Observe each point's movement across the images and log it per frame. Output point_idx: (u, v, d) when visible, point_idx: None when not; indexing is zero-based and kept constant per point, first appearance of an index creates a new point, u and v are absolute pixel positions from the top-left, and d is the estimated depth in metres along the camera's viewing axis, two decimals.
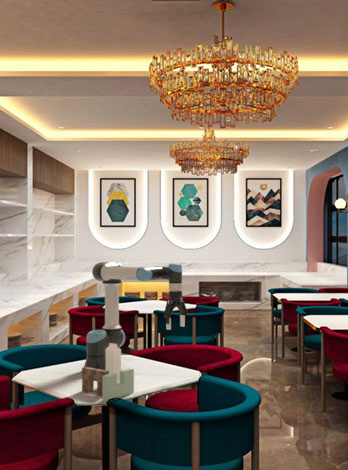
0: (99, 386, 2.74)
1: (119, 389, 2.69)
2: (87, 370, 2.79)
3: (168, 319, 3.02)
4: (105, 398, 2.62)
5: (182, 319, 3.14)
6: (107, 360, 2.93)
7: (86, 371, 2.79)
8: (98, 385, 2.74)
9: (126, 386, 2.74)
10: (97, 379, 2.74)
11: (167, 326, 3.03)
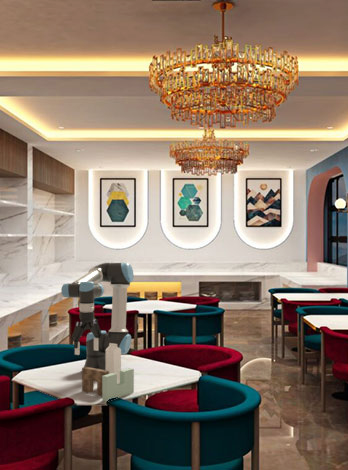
0: (99, 386, 2.74)
1: (119, 389, 2.69)
2: (87, 370, 2.79)
3: (76, 343, 2.74)
4: (105, 398, 2.62)
5: (95, 342, 2.86)
6: (107, 360, 2.93)
7: (86, 371, 2.79)
8: (98, 385, 2.74)
9: (126, 386, 2.74)
10: (97, 379, 2.74)
11: (76, 351, 2.75)
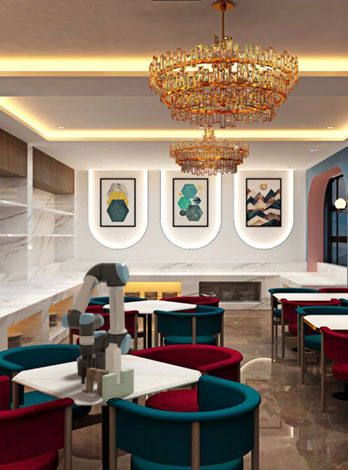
0: (99, 386, 2.74)
1: (119, 389, 2.69)
2: (87, 370, 2.79)
3: (83, 379, 2.78)
4: (105, 398, 2.62)
5: None
6: (107, 360, 2.93)
7: (86, 371, 2.79)
8: (98, 385, 2.74)
9: (126, 386, 2.74)
10: (97, 379, 2.74)
11: (83, 386, 2.79)
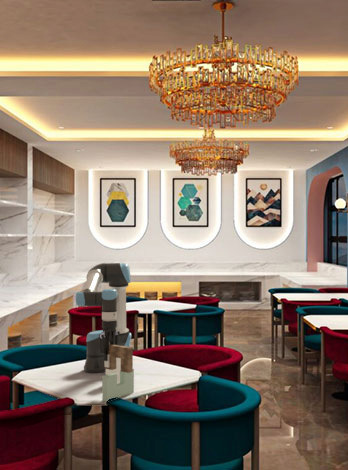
0: (122, 363, 2.67)
1: (119, 389, 2.69)
2: (110, 347, 2.72)
3: (106, 356, 2.72)
4: (105, 398, 2.62)
5: None
6: None
7: None
8: (121, 362, 2.68)
9: (126, 386, 2.74)
10: (120, 356, 2.68)
11: (105, 363, 2.73)
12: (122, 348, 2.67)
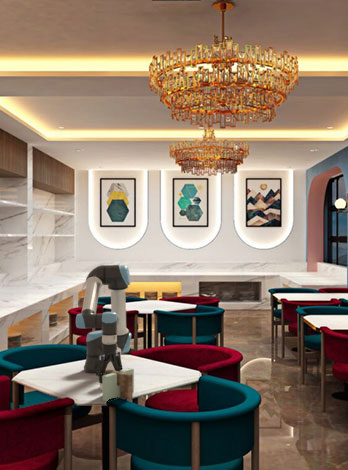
0: (122, 390, 2.67)
1: (119, 389, 2.69)
2: (110, 373, 2.72)
3: None
4: (105, 398, 2.62)
5: None
6: None
7: None
8: (121, 388, 2.68)
9: None
10: (120, 382, 2.68)
11: (101, 386, 2.70)
12: (122, 375, 2.67)
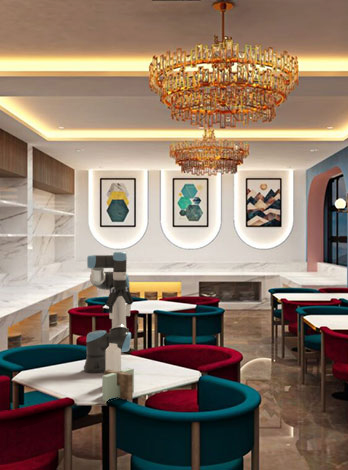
0: (122, 390, 2.67)
1: (119, 389, 2.69)
2: (110, 373, 2.72)
3: (111, 308, 2.98)
4: (105, 398, 2.62)
5: (127, 308, 3.10)
6: (107, 360, 2.93)
7: None
8: (121, 388, 2.68)
9: None
10: (120, 382, 2.68)
11: (110, 315, 3.00)
12: (122, 375, 2.67)
